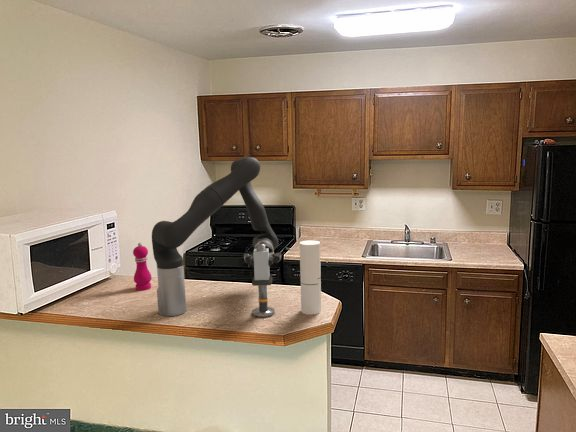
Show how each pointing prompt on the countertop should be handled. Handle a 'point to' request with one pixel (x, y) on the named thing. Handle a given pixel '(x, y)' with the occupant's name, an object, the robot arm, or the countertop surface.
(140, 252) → the pepper mill
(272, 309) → the pipe stand
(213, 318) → the countertop surface
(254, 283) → the ring
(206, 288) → the countertop surface
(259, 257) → the sleeve
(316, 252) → the cylindrical container
